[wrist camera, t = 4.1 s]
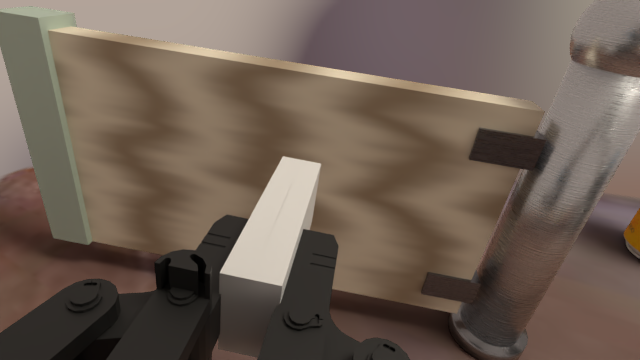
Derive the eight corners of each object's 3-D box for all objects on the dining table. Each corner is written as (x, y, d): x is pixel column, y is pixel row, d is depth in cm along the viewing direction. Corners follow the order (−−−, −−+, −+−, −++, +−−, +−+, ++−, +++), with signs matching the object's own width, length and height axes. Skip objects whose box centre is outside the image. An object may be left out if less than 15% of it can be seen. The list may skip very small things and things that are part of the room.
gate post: (509, 312, 27) (683, -15, 17) (531, 372, 23) (779, -11, 13) (443, 299, 27) (575, -30, 17) (454, 356, 23) (636, -31, 13)
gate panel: (459, 291, 25) (545, 88, 18) (466, 320, 23) (566, 103, 16) (78, 217, 27) (31, 6, 20) (53, 237, 25) (-10, 10, 18)
